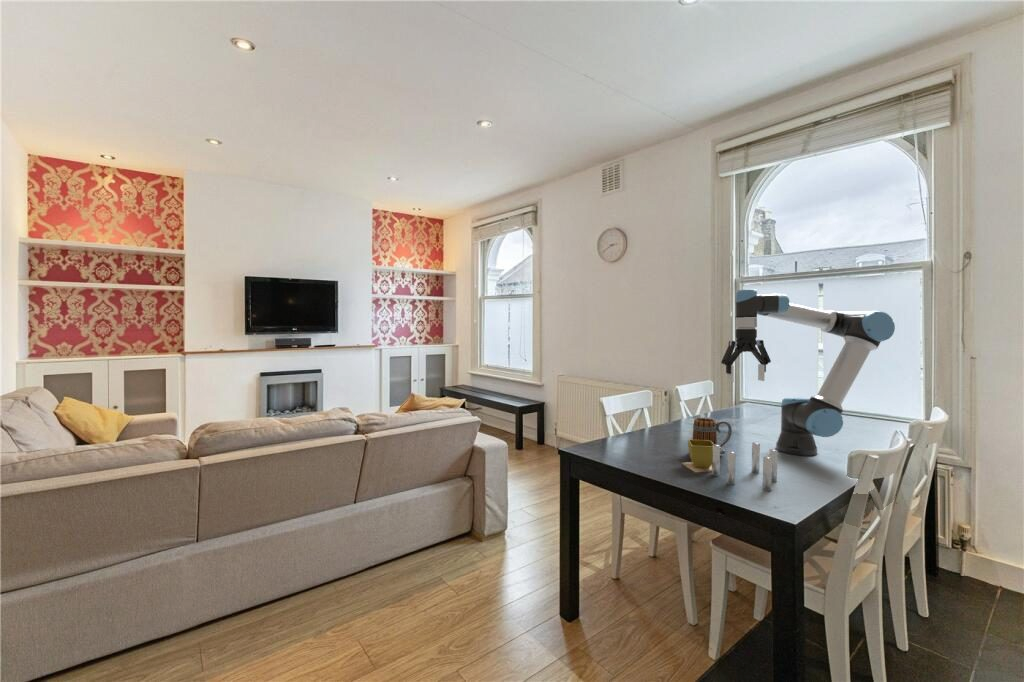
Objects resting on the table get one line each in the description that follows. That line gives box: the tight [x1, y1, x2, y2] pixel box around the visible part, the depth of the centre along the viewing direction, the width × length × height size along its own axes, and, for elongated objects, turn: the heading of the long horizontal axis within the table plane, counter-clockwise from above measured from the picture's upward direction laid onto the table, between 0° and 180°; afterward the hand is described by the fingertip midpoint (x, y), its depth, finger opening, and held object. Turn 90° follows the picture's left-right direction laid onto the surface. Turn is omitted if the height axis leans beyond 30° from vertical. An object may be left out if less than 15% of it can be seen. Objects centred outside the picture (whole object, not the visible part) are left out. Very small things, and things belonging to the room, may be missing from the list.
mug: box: [691, 417, 733, 455], centre depth 191 cm, size 16×11×15 cm
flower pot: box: [687, 439, 713, 468], centre depth 175 cm, size 9×9×9 cm
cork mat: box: [681, 461, 712, 473], centre depth 175 cm, size 10×10×1 cm
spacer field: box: [711, 441, 778, 493], centre depth 160 cm, size 18×19×11 cm
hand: (746, 381), depth 183 cm, fingers open, 13 cm apart
